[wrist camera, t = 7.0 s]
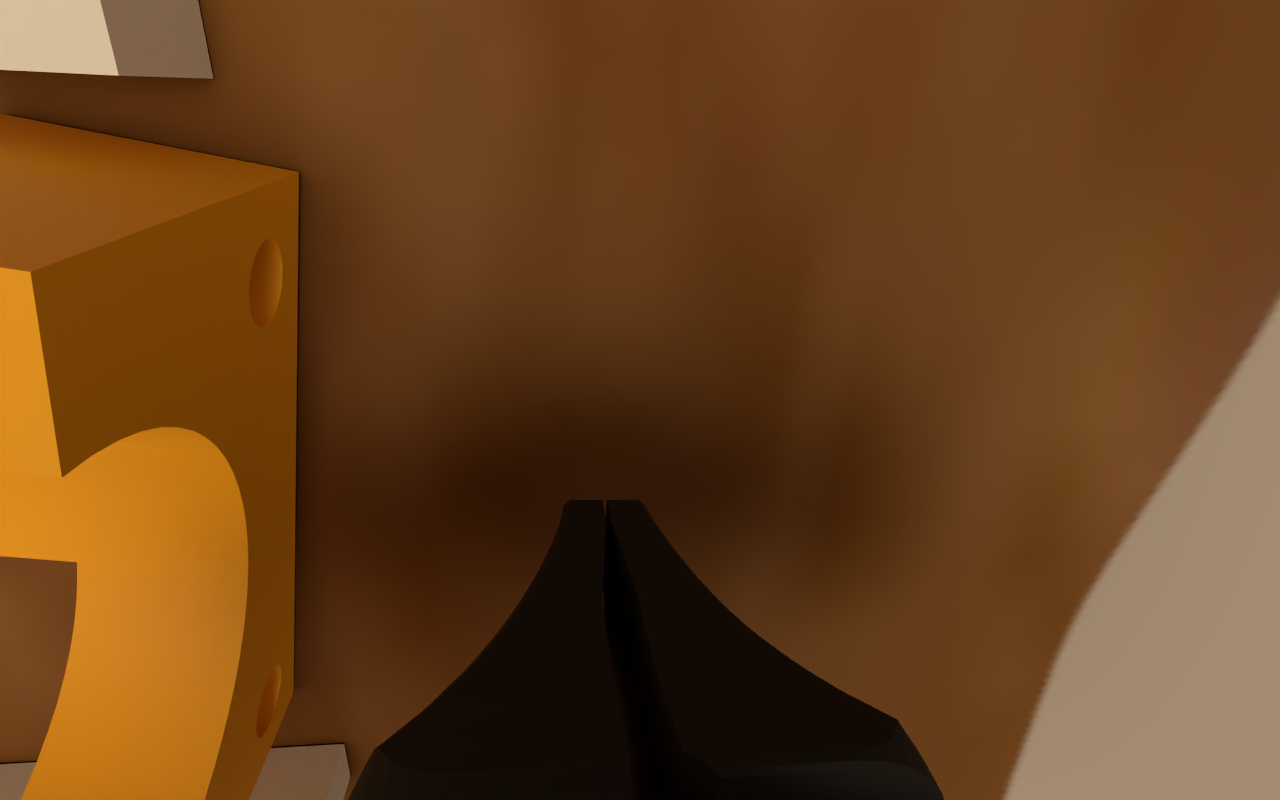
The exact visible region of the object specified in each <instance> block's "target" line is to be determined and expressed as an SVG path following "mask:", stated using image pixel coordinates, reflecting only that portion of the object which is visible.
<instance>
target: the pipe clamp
mask: <svg viewBox="0 0 1280 800" xmlns="http://www.w3.org/2000/svg"><path fill="white" fill-rule="evenodd" d="M298 217H299V172H297V171H292V170H286V169H281V168H276V167H271V166H266V165H261V164H256V163H251V162H245V161H240V160H235V159H230V158H225V157H220V156H215V155H210V154H204V153H199V152H194V151H189V150H184V149H179V148H174V147H169V146H164V145H158V144H153V143H148V142H143V141H138V140H133V139H128V138H123V137H117V136H112V135H107V134H102V133H97V132H92V131H87V130H82V129H76V128H71V127H66V126H61V125H56V124H51V123H46V122H41V121H36V120H30V119H25V118H20V117H15V116H10V115H5V114H0V556H8V557H20V558H32V559H44V560H57V561H69V562H77V601H76V612H75V623H74V629H73V636H72V642H71V649H70V653H69V658H68V663H67V667H66V672H65V676H64V680H63V684H62V687H61V691H60V695H59V699H58V702H57V706H56V709H55V712H54V715H53V718H52V721H51V724H50V727H49V730H48V733H47V736H46V739H45V741H44V744H43V747H42V749H41V752H40V755H39V757H38V760H37V763H36V765H35V768H34V770H33V772H32V775H31V777H30V779H29V782H28V784H27V786H26V789H25V791H24V793H23V796H22V798H21V800H249V799H250V797H251V794H252V792H253V790H254V787H255V785H256V782H257V780H258V778H259V775H260V773H261V770H262V768H263V765H264V763H265V761H266V758H267V756H268V753H269V751H270V749H271V746H272V744H273V741H274V739H275V736H276V734H277V732H278V729H279V727H280V724H281V722H282V720H283V717H284V715H285V712H286V710H287V707H288V705H289V703H290V700H291V698H292V695H293V693H294V607H295V509H296V412H297V314H298Z"/></svg>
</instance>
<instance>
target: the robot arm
mask: <svg viewBox="0 0 1280 800" xmlns="http://www.w3.org/2000/svg"><path fill="white" fill-rule="evenodd" d="M605 526H606V528H605ZM604 550H605V552H604ZM603 573H604V575H603ZM603 598H604V608H603ZM348 800H944V799H943V795H942V793H941V791H940V789H939V787H938V785H937V783H936V782H935V780H934V778H933V776H932V774H931V772H930V770H929V769H928V767H927V765H926V763H925V762H924V760H923V758H922V757H921V755H920V753H919V752H918V750H917V748H916V747H915V745H914V744H913V742H912V741H911V740H910V738H909V737H908V735H907V734H906V732H905V731H904V729H903V728H902V726H901V725H900V723H899V721H898V720H897V719H895V718H893V717H891V716H889V715H887V714H885V713H883V712H881V711H880V710H878V709H876V708H874V707H872V706H870V705H868V704H866V703H864V702H862V701H860V700H858V699H856V698H854V697H852V696H850V695H848V694H846V693H844V692H843V691H841V690H839V689H837V688H836V687H834V686H832V685H831V684H829V683H827V682H826V681H824V680H822V679H821V678H819V677H817V676H816V675H814V674H813V673H811V672H809V671H808V670H806V669H805V668H803V667H802V666H800V665H799V664H797V663H796V662H794V661H793V660H791V659H790V658H788V657H787V656H785V655H784V654H783V653H781V652H780V651H778V650H777V649H776V648H774V647H773V646H772V645H770V644H769V643H768V642H766V641H765V640H764V639H762V638H761V637H760V636H758V635H757V634H756V633H755V632H753V631H752V630H751V629H750V628H748V627H747V626H746V625H745V624H744V623H743V622H742V621H740V620H739V619H738V618H737V617H736V616H735V615H734V614H733V613H731V612H730V611H729V610H728V609H727V608H726V607H725V606H724V605H723V604H722V603H721V602H720V601H719V600H718V599H717V598H716V597H715V596H714V595H713V594H712V593H711V592H710V591H709V590H708V588H707V587H706V586H705V585H704V584H703V583H702V582H701V581H700V580H699V579H698V578H697V576H696V575H695V574H694V573H693V572H692V571H691V569H690V568H689V567H688V566H687V565H686V563H685V562H684V561H683V560H682V558H681V557H680V556H679V555H678V553H677V552H676V551H675V550H674V548H673V547H672V546H671V544H670V543H669V542H668V540H667V539H666V538H665V536H664V535H663V533H662V532H661V531H660V529H659V528H658V526H657V525H656V523H655V522H654V520H653V519H652V517H651V516H650V514H649V512H648V511H647V509H646V507H645V506H644V505H643V503H642V502H641V501H640V500H607V505H606V517H605V512H604V507H603V502H602V500H570V501H569V502H567V503H566V504H565V505H564V507H563V514H562V518H561V522H560V525H559V528H558V530H557V533H556V535H555V538H554V540H553V543H552V545H551V547H550V549H549V551H548V553H547V555H546V557H545V559H544V561H543V564H542V566H541V567H540V569H539V571H538V573H537V574H536V576H535V578H534V580H533V581H532V583H531V585H530V586H529V588H528V590H527V591H526V593H525V595H524V596H523V598H522V600H521V601H520V603H519V604H518V606H517V607H516V608H515V610H514V611H513V613H512V614H511V616H510V617H509V618H508V620H507V621H506V622H505V624H504V625H503V626H502V628H501V629H500V630H499V632H498V633H497V634H496V635H495V637H494V638H493V639H492V640H491V641H490V643H489V644H488V645H487V646H486V647H485V649H484V650H483V651H482V652H481V653H480V655H479V656H478V657H477V658H476V659H475V660H474V661H473V662H472V663H471V665H470V666H469V667H468V668H467V669H466V670H465V671H464V672H463V673H462V674H461V675H460V676H459V677H458V678H457V679H456V680H455V681H454V682H453V683H452V684H451V685H450V686H449V687H448V688H446V689H445V690H444V691H443V692H442V693H441V694H440V695H439V696H438V697H437V698H436V699H435V700H434V701H433V702H432V703H431V704H430V705H429V706H428V707H426V708H425V709H424V710H423V711H422V712H421V713H420V714H418V715H417V716H416V717H415V718H413V719H412V720H411V721H410V722H408V723H407V724H406V725H405V726H403V727H402V728H401V729H400V730H398V731H397V732H396V733H395V734H394V735H392V736H391V737H390V738H389V739H387V740H386V741H385V742H384V743H382V744H381V745H379V746H378V747H377V748H375V749H374V751H373V753H372V754H371V756H370V758H369V760H368V762H367V763H366V765H365V767H364V769H363V771H362V773H361V775H360V777H359V778H358V780H357V783H356V785H355V787H354V789H353V791H352V793H351V795H350V797H349V799H348Z"/></svg>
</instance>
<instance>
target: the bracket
mask: <svg viewBox="0 0 1280 800" xmlns="http://www.w3.org/2000/svg"><path fill="white" fill-rule="evenodd" d="M0 70H15V71H36V72H56V73H76V74H97V75H117V76H146V77H177V78H208V79H213V74H212V69H211V64H210V59H209V54H208V48H207V43H206V38H205V33H204V28H203V23H202V18H201V13H200V8H199V3H198V0H0ZM36 763H37V762H32V763H15V764H0V800H21V798H22V796H23V793H24V791H25V789H26V786H27V784H28V782H29V779H30V777H31V775H32V772H33V770H34V768H35V765H36ZM349 779H350V772H349V767H348V762H347V757H346V752H345V746H344V744H335V745H318V746H301V747H285V748H271V749H270V751H269V753H268V756H267V758H266V761H265V763H264V765H263V768H262V770H261V773H260V775H259V778H258V780H257V782H256V785H255V787H254V790H253V792H252V794H251V797H250V799H249V800H343V799H344V796H345V792H346V789H347V786H348V783H349Z"/></svg>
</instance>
